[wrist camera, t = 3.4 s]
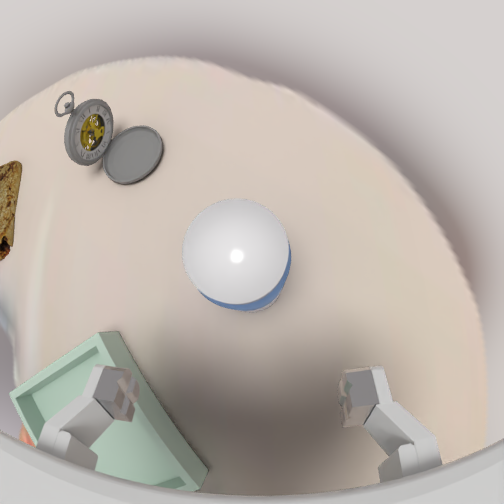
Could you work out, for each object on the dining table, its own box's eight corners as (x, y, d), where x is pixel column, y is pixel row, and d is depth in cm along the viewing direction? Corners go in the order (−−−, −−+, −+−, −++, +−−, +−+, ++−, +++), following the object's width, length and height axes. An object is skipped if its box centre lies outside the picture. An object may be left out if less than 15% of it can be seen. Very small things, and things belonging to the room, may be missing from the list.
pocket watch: (169, 172, 27) (126, 109, 17) (94, 201, 27) (34, 156, 17) (158, 112, 29) (125, 47, 19) (92, 139, 29) (46, 88, 19)
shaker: (294, 290, 24) (316, 265, 12) (242, 324, 24) (215, 330, 12) (260, 240, 25) (252, 175, 14) (210, 272, 25) (159, 233, 13)
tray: (208, 470, 21) (200, 488, 18) (100, 503, 20) (86, 516, 17) (118, 331, 24) (98, 332, 21) (29, 389, 23) (8, 393, 20)
